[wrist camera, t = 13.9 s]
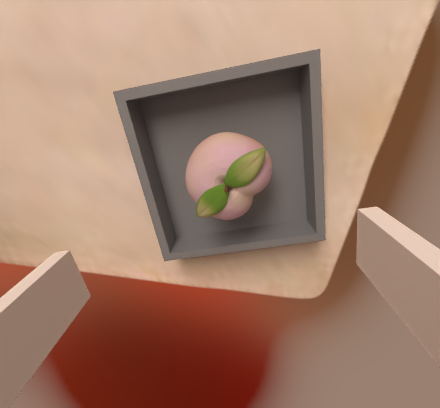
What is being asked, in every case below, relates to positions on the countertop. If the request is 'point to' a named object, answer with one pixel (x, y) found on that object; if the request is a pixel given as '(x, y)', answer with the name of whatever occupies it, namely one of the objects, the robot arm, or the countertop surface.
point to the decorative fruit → (227, 174)
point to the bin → (242, 124)
